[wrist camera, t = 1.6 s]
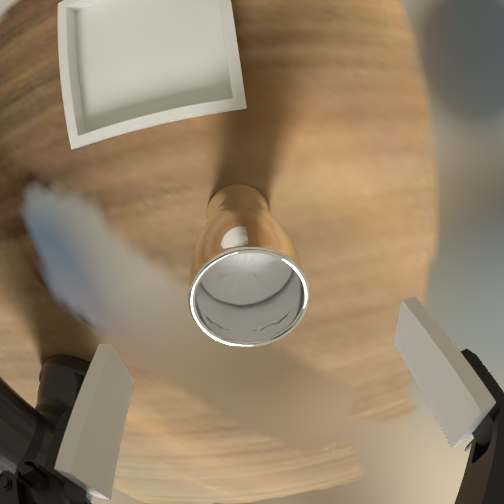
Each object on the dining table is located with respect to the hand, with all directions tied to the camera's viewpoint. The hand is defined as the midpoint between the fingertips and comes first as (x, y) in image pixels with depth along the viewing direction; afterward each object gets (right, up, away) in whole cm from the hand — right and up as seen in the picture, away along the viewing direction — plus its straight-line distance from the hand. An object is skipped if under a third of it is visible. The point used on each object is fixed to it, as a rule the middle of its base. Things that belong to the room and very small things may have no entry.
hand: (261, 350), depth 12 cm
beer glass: (-2, +8, +17) cm, 19 cm away
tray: (-10, +23, +9) cm, 27 cm away
